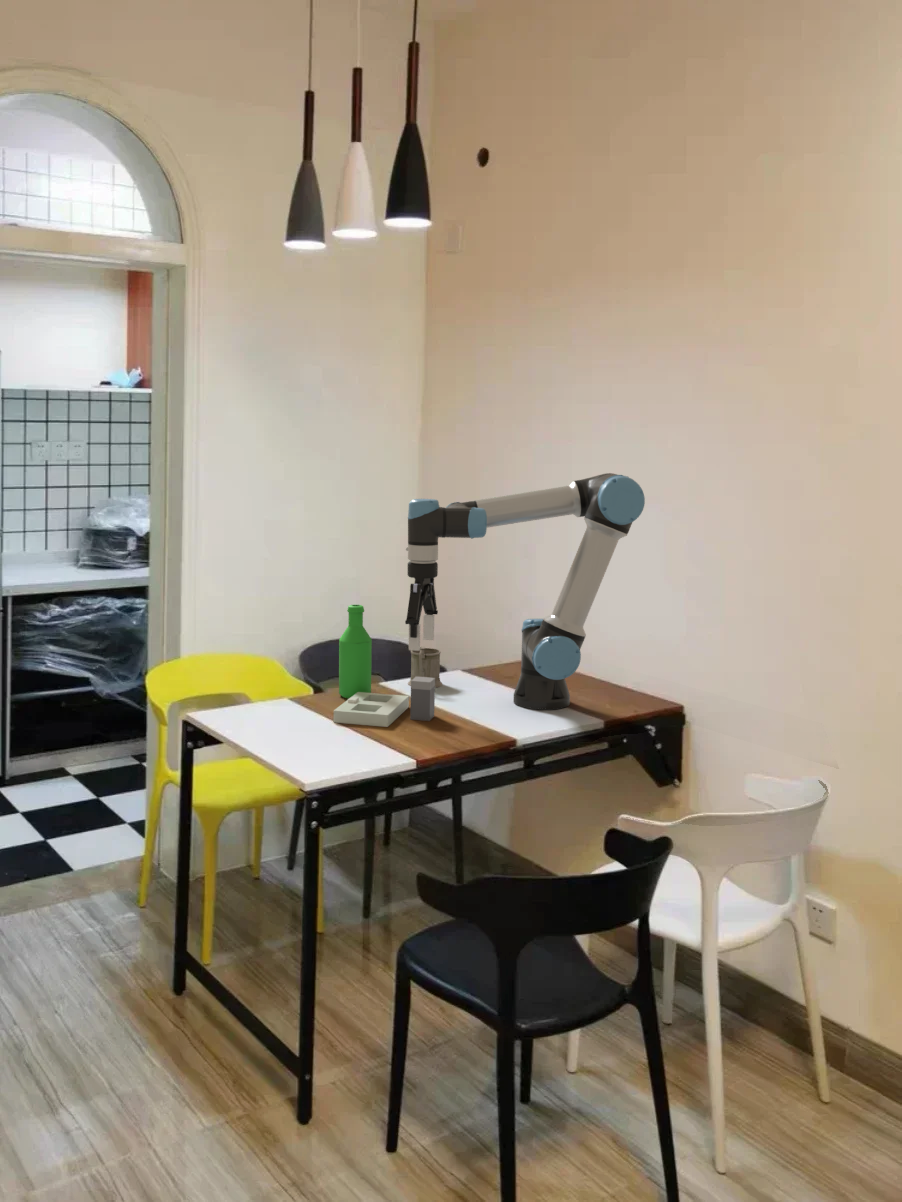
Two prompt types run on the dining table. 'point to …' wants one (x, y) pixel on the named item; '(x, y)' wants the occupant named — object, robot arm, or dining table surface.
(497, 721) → the dining table surface
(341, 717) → the socket plate
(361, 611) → the bottle
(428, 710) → the plug
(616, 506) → the robot arm
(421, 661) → the mug
